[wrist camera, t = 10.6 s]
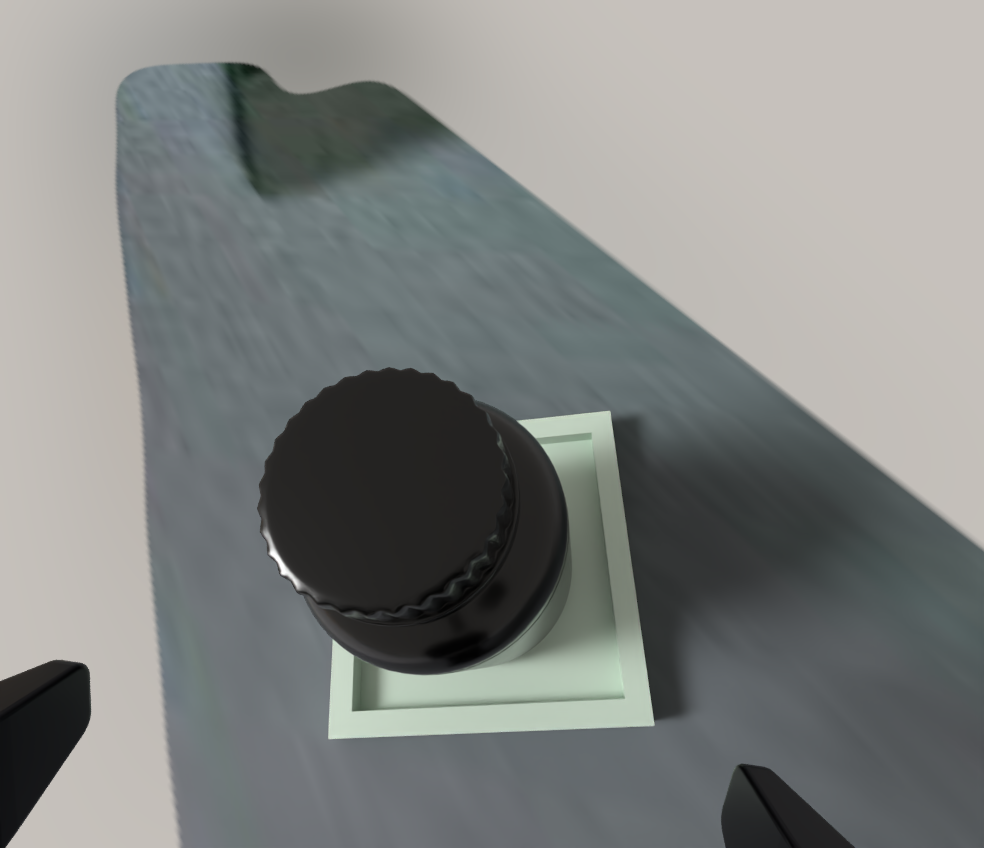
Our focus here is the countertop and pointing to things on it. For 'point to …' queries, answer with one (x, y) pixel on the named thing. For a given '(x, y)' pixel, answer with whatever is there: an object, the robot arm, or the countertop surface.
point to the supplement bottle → (418, 524)
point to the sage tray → (560, 655)
